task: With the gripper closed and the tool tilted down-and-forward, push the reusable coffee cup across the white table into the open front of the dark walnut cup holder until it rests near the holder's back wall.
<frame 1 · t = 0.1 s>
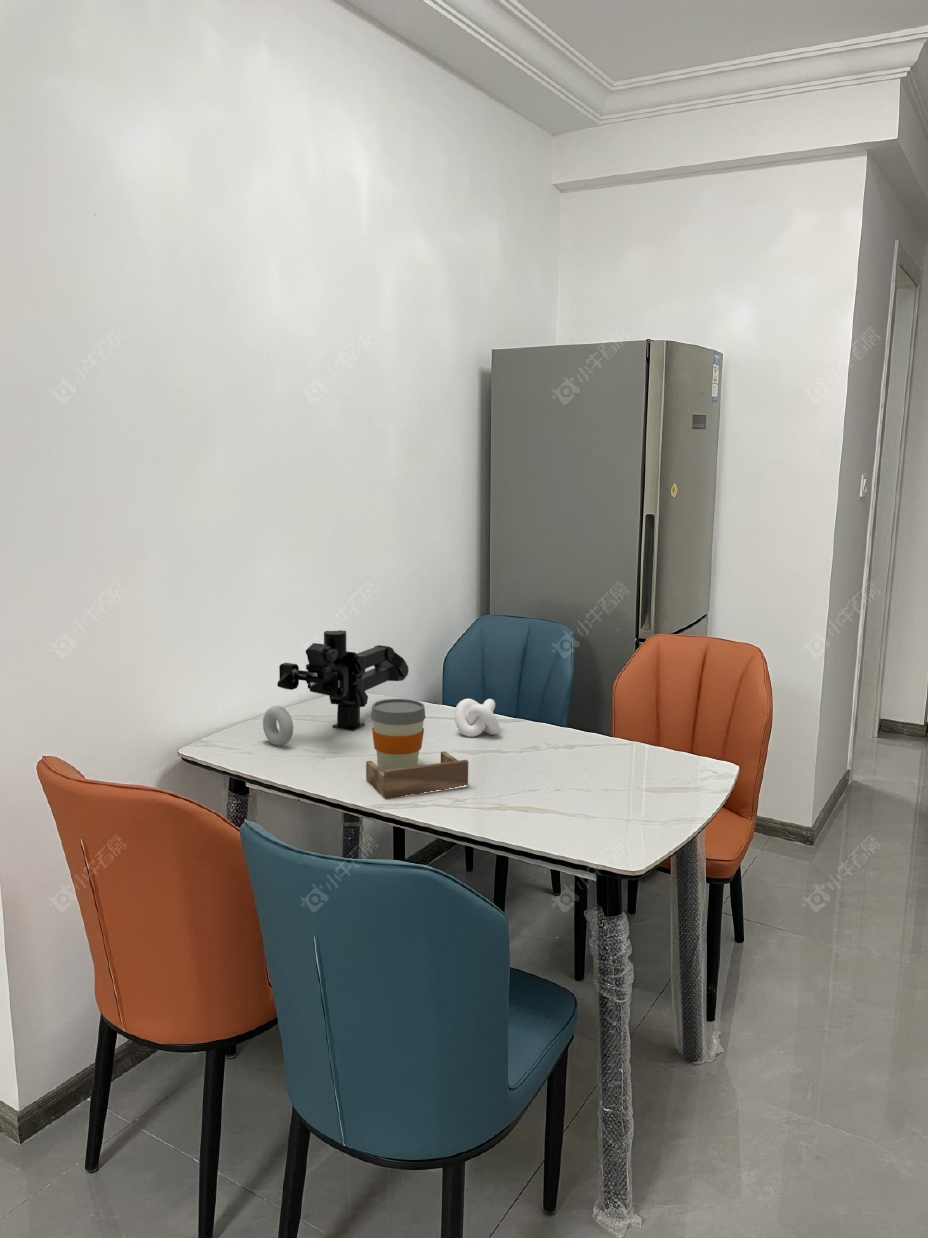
hand: (294, 687, 225), 17 cm above the table, tool horizontal, fingers open, 9 cm apart
white knot: (475, 734, 248), on the table
donut: (278, 746, 234), on the table
reusable coffee cup: (397, 768, 220), on the table
holder: (414, 782, 211), on the table
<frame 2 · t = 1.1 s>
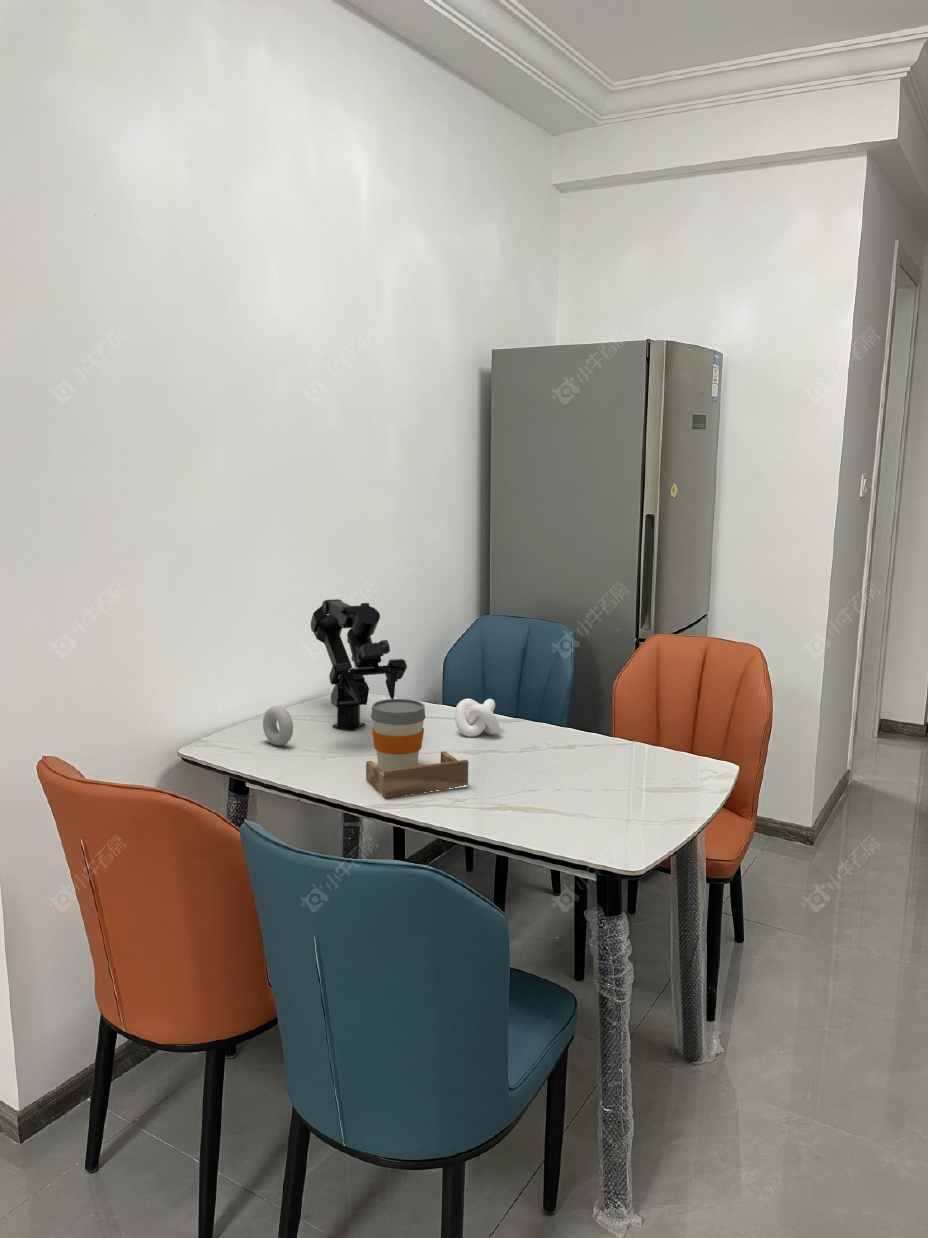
hand: (376, 700, 229), 13 cm above the table, tool tilted 45°, fingers open, 8 cm apart
nothing on the table moved.
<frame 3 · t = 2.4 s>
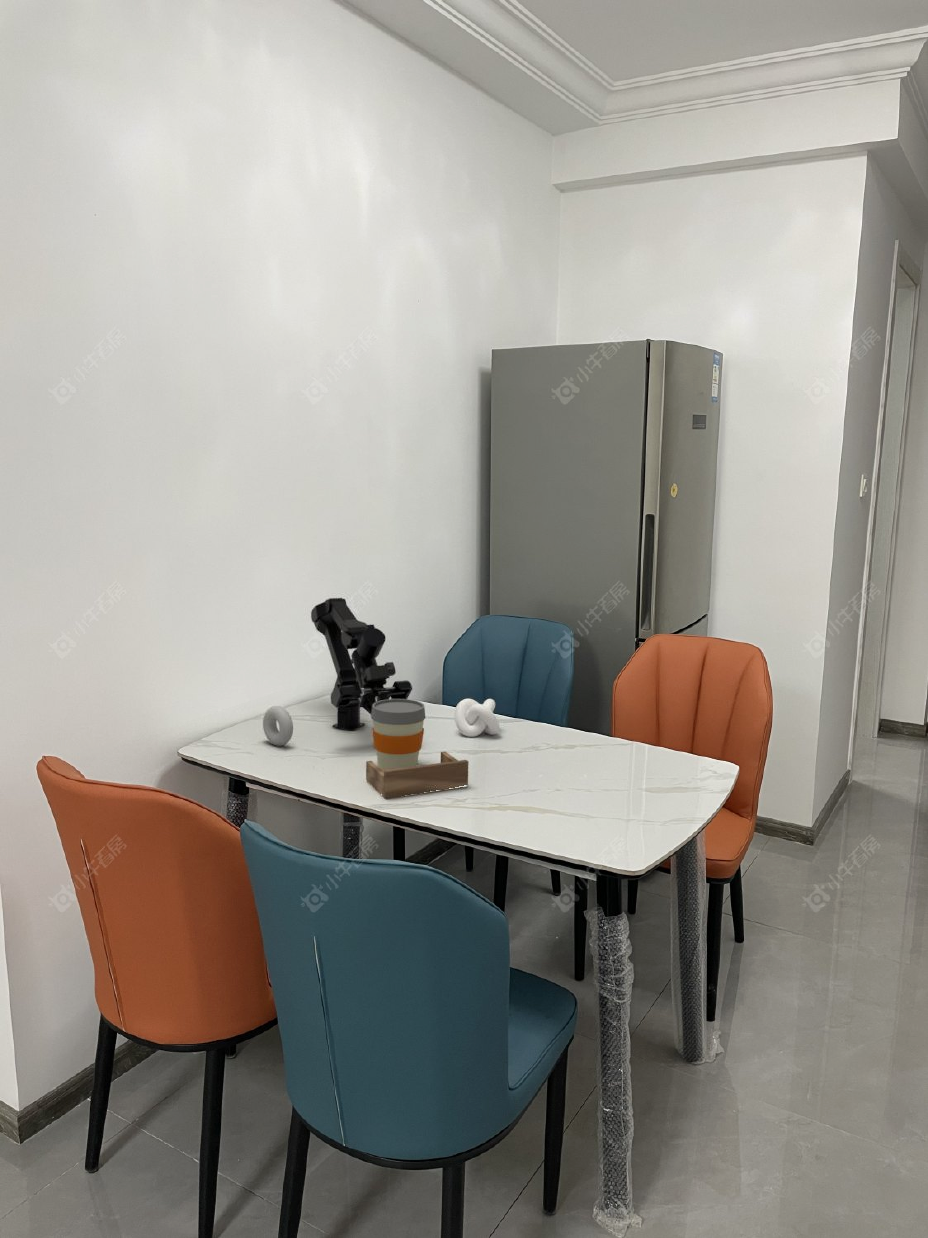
hand: (381, 723, 228), 8 cm above the table, tool tilted 45°, fingers closed
nothing on the table moved.
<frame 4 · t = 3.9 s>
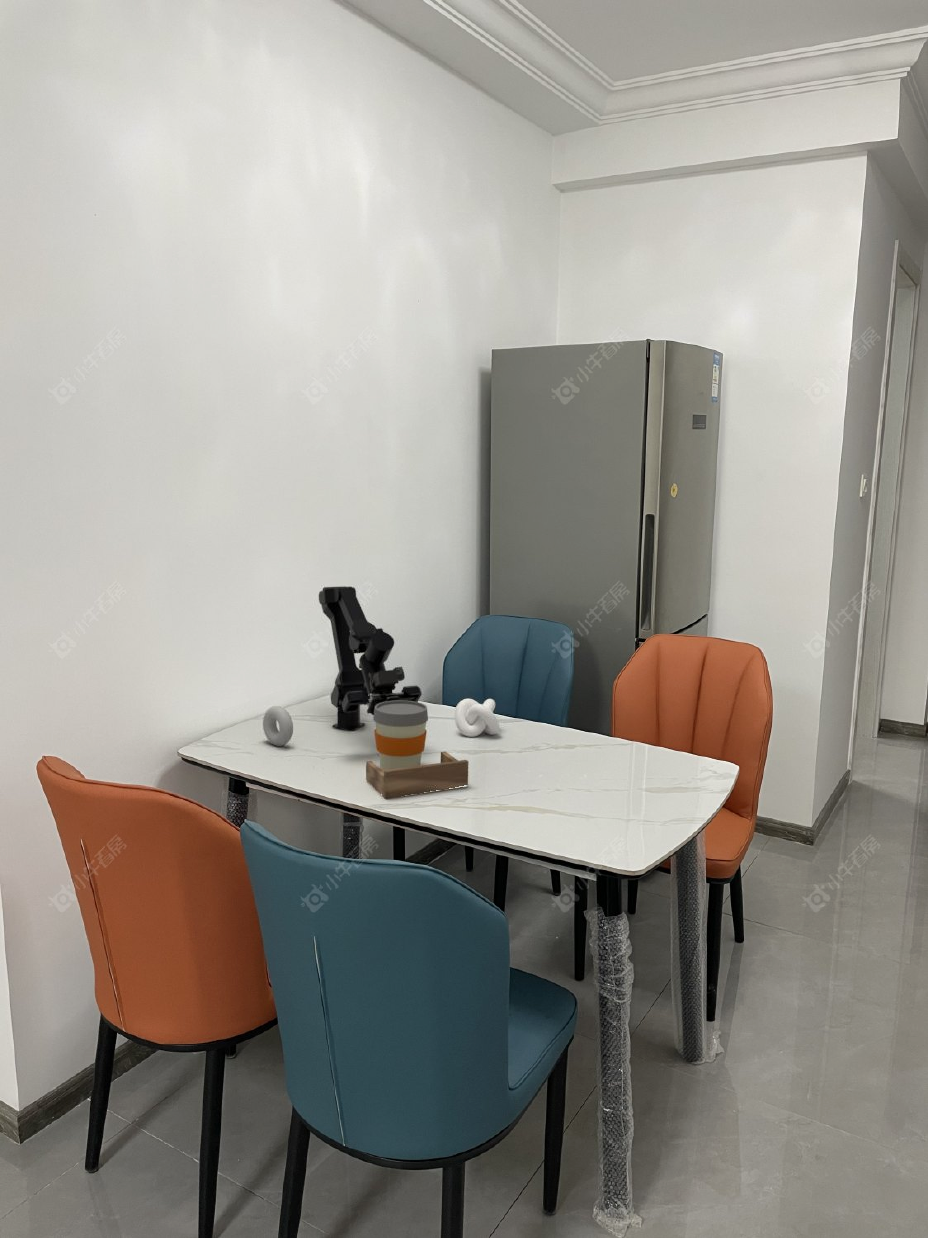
hand: (390, 729, 223), 8 cm above the table, tool tilted 45°, fingers closed, pressing on reusable coffee cup
reusable coffee cup: (399, 770, 218), on the table, touching gripper
everything else where it was.
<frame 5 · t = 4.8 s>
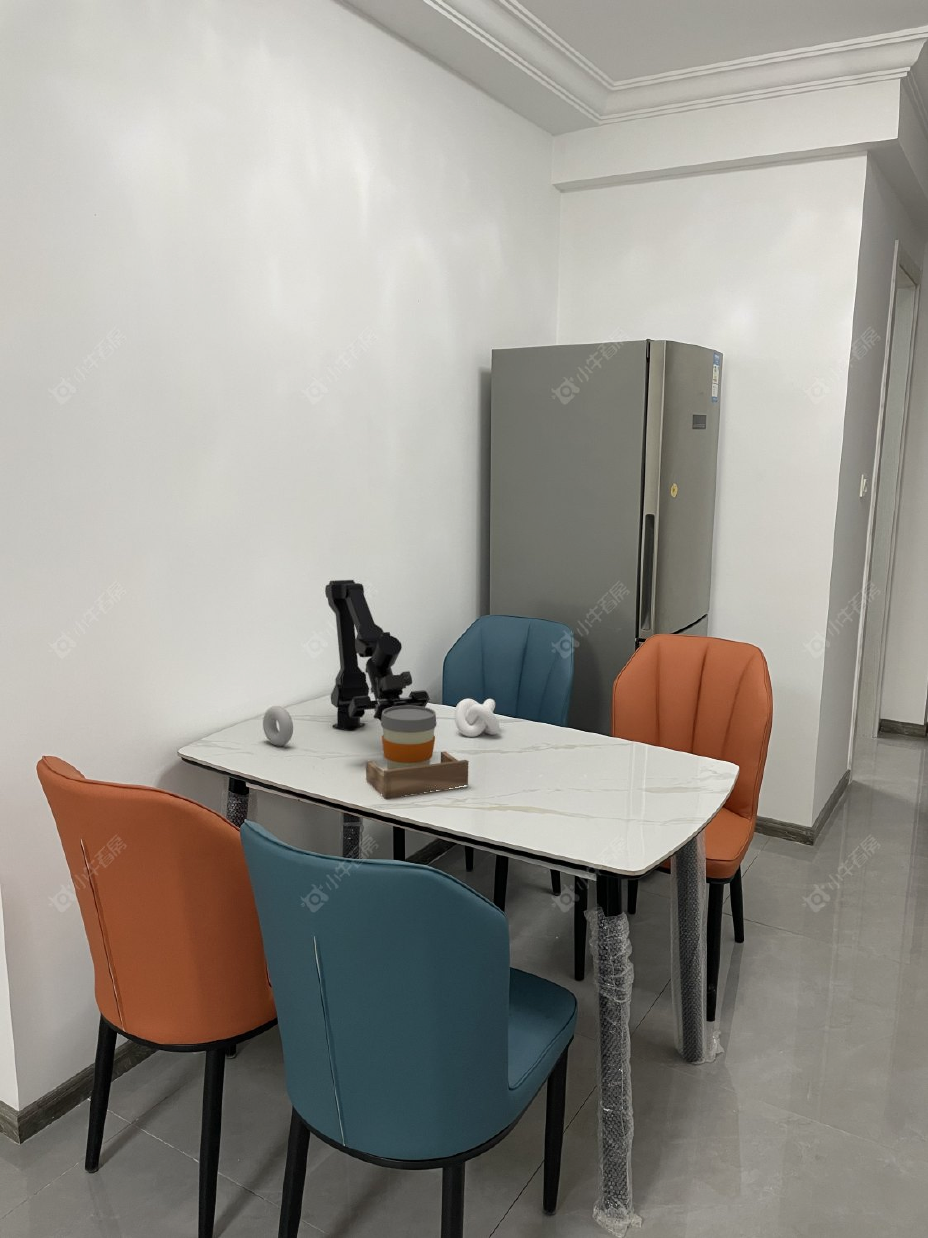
hand: (398, 735, 218), 8 cm above the table, tool tilted 45°, fingers closed, pressing on reusable coffee cup
reusable coffee cup: (407, 777, 214), on the table, touching gripper
everything else where it was.
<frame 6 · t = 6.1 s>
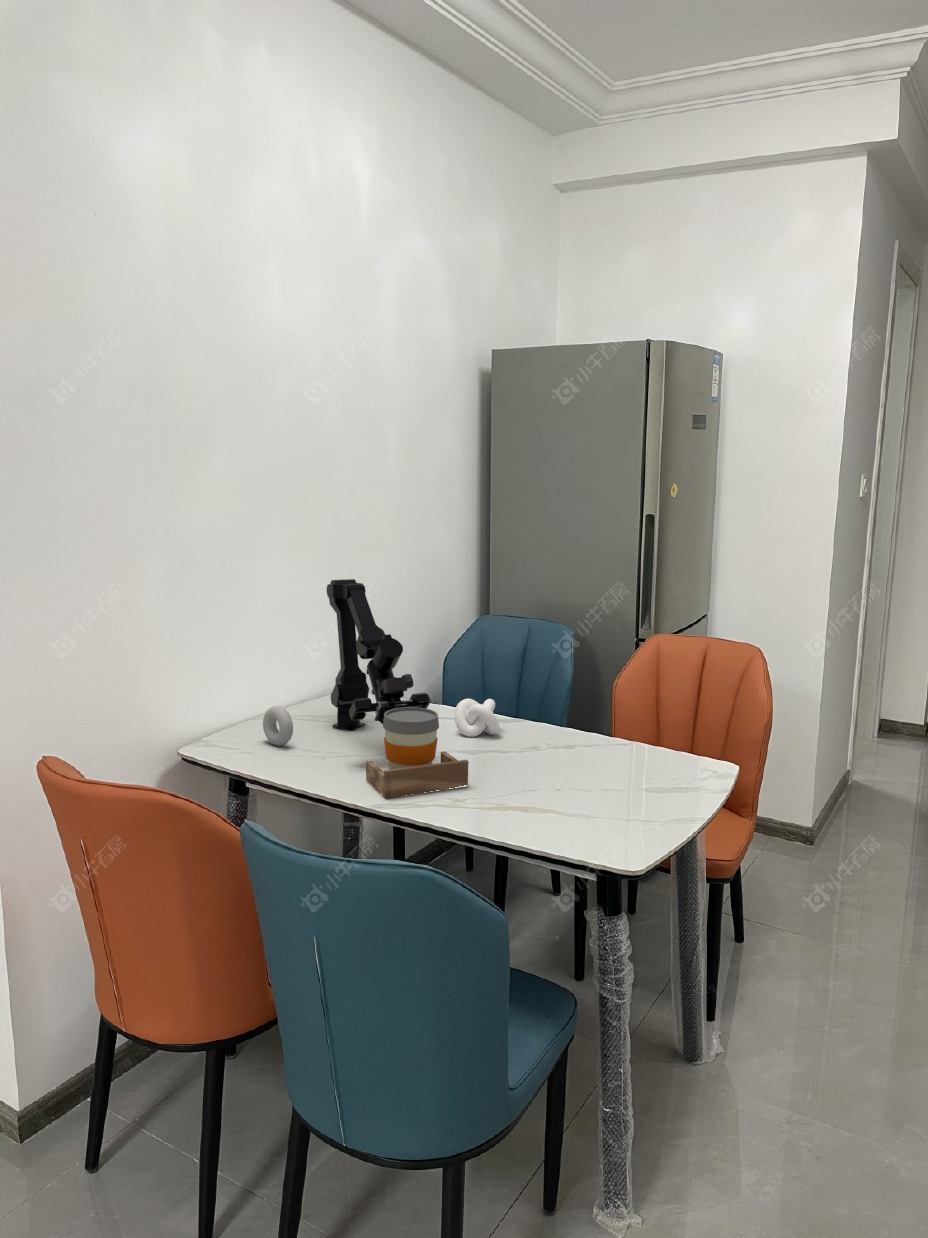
hand: (399, 738, 218), 7 cm above the table, tool tilted 45°, fingers closed
reusable coffee cup: (410, 779, 213), on the table
everything else where it was.
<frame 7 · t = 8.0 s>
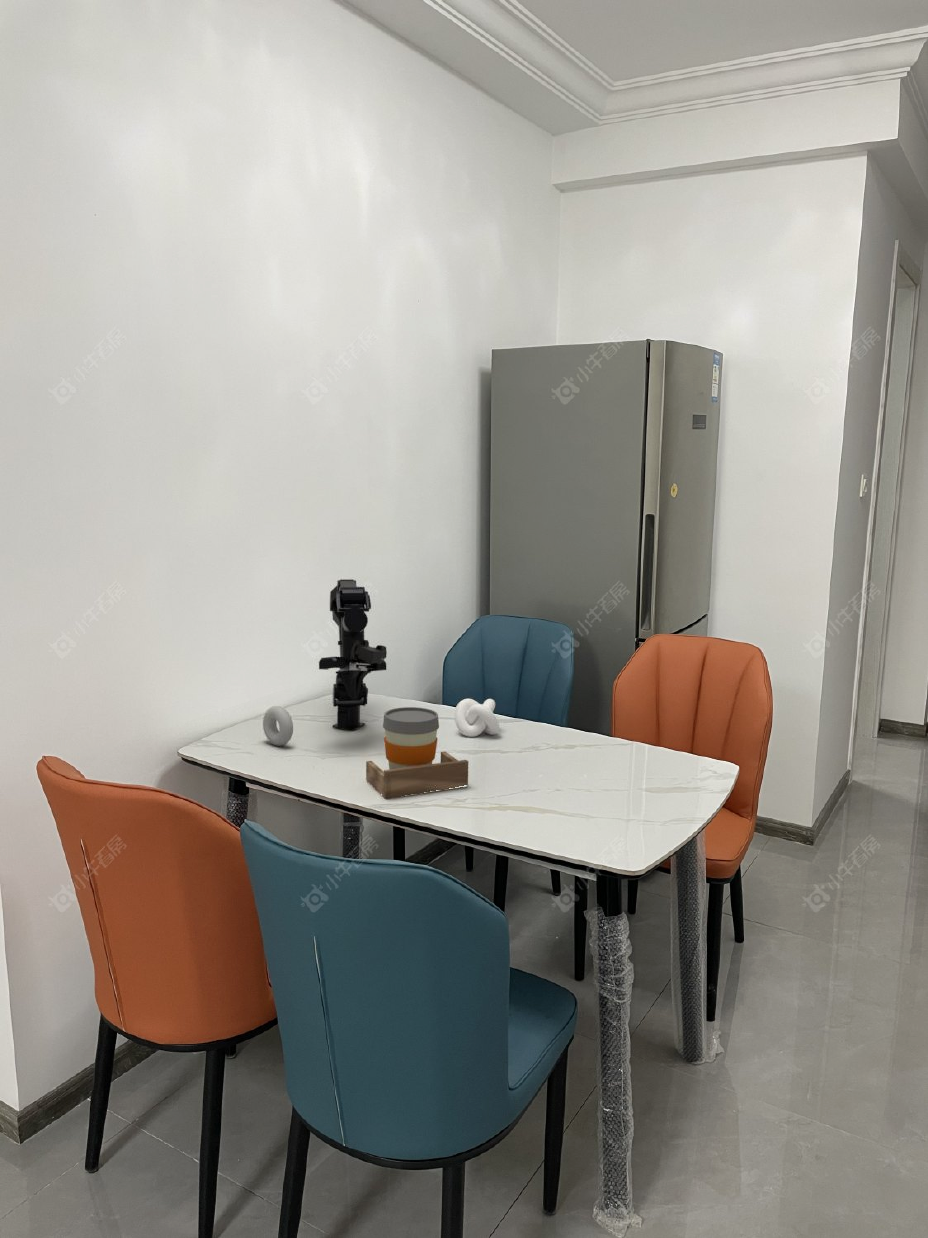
hand: (354, 699, 233), 12 cm above the table, tool tilted 15°, fingers closed
nothing on the table moved.
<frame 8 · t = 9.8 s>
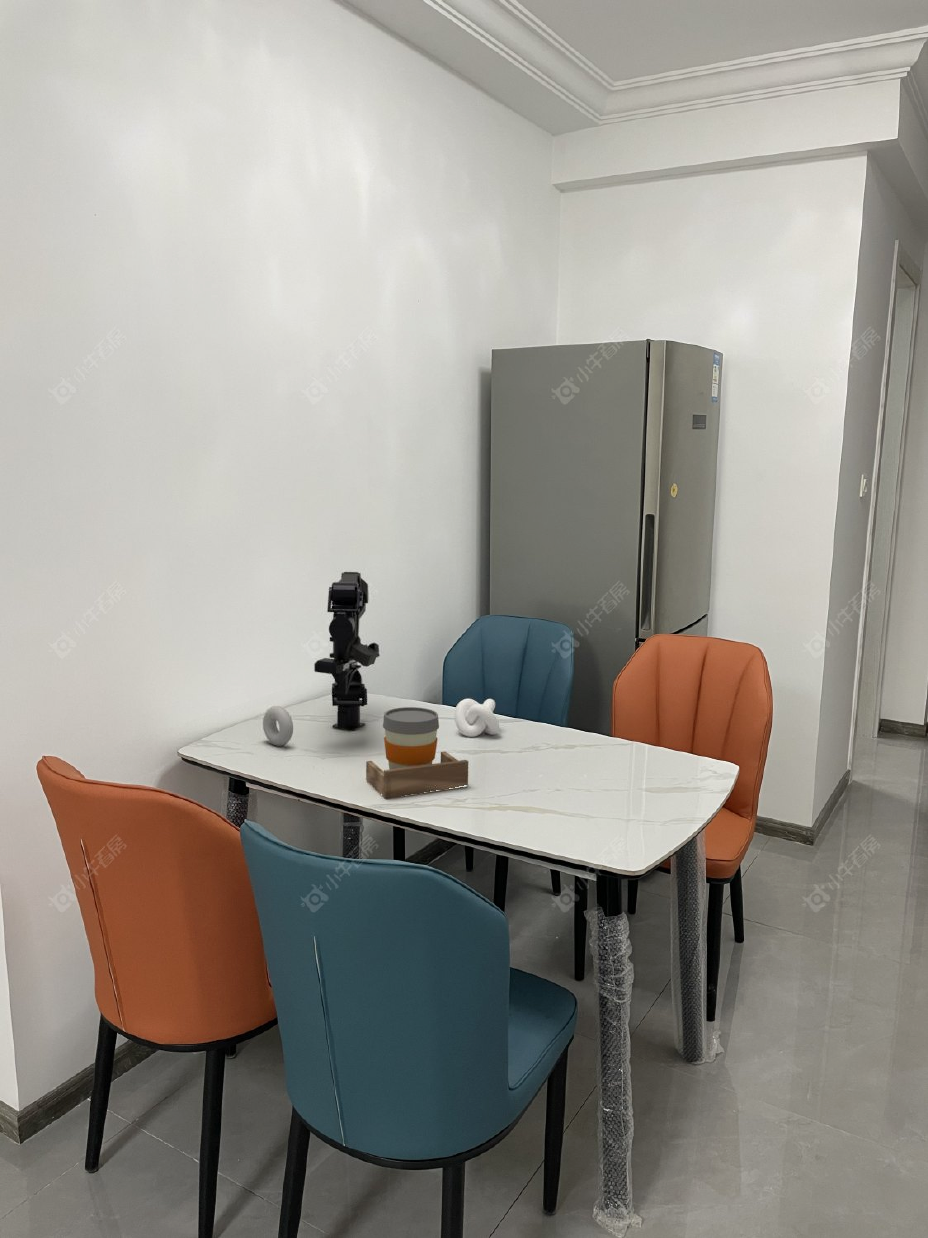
hand: (344, 694, 236), 12 cm above the table, tool pointing down, fingers closed
nothing on the table moved.
at the end: reusable coffee cup 2.7 cm from the holder (horizontally); reusable coffee cup tilted 0°; reusable coffee cup moved 7.8 cm from its start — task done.
